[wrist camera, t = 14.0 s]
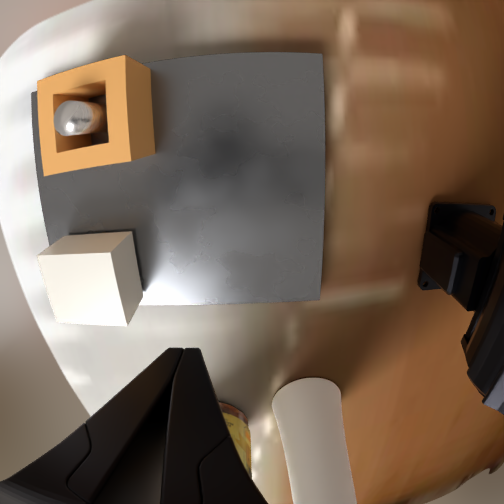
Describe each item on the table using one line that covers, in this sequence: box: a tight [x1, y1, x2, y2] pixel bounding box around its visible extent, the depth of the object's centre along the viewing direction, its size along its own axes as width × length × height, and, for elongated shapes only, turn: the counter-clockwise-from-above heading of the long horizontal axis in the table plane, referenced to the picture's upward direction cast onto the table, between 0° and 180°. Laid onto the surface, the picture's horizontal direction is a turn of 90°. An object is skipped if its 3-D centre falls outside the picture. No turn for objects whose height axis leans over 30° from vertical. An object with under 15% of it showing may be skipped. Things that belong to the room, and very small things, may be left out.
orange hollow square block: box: [37, 55, 156, 176], centre depth 14 cm, size 5×5×4 cm
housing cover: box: [37, 231, 144, 326], centre depth 17 cm, size 5×4×3 cm
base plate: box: [31, 52, 325, 305], centre depth 16 cm, size 18×15×6 cm
